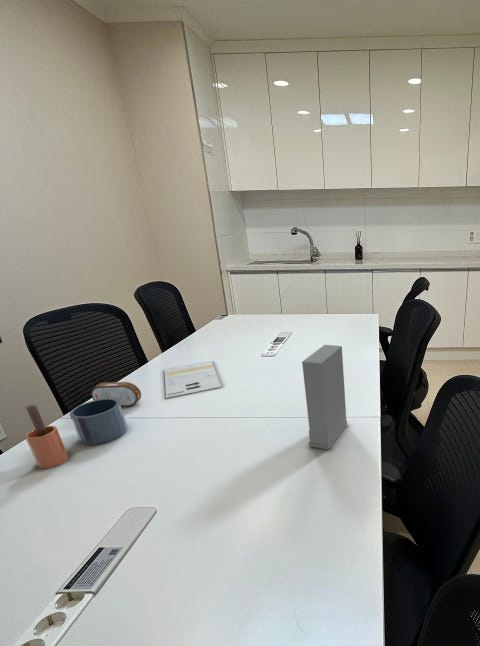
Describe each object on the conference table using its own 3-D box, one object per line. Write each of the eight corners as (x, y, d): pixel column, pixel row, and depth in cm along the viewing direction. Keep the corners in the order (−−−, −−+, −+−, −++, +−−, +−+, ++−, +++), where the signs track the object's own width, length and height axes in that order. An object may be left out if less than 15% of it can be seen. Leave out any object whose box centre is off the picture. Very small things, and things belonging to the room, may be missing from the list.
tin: (144, 402, 134) (137, 380, 130) (140, 406, 131) (133, 384, 127) (99, 404, 133) (91, 382, 130) (94, 409, 130) (86, 386, 127)
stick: (47, 461, 101) (23, 408, 95) (51, 457, 103) (27, 404, 97) (56, 460, 102) (33, 406, 95) (59, 456, 104) (37, 403, 97)
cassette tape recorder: (328, 422, 118) (321, 344, 108) (347, 425, 116) (342, 345, 106) (308, 446, 106) (298, 361, 96) (328, 450, 104) (321, 363, 94)
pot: (73, 449, 108) (62, 420, 104) (88, 428, 118) (78, 401, 115) (122, 441, 111) (112, 413, 107) (132, 421, 122) (124, 395, 118)
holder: (33, 470, 99) (19, 440, 95) (45, 456, 105) (32, 428, 101) (62, 465, 101) (50, 436, 97) (72, 452, 106) (60, 424, 103)
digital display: (211, 361, 168) (221, 386, 144) (211, 362, 168) (221, 386, 144) (164, 369, 161) (166, 397, 136) (164, 370, 161) (166, 398, 136)
